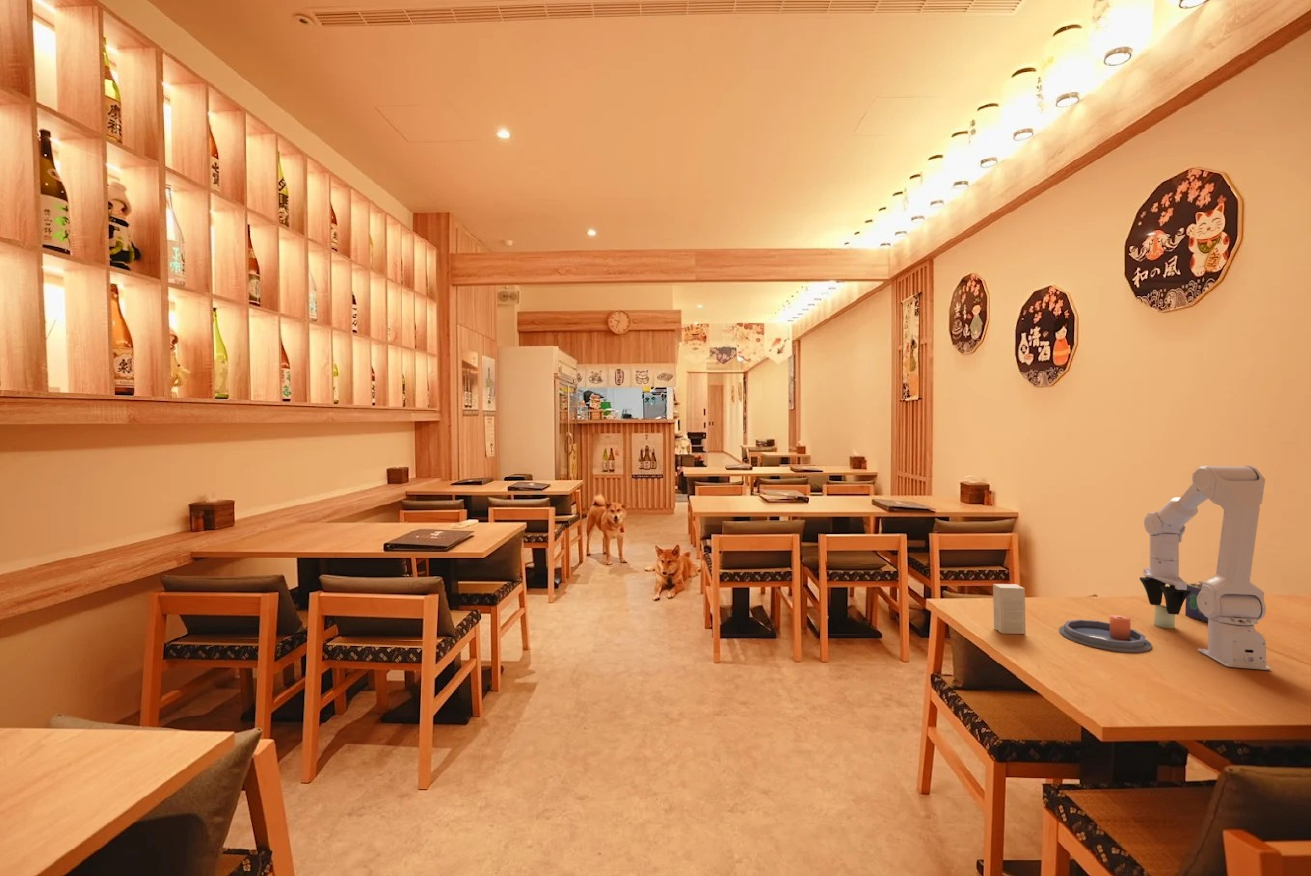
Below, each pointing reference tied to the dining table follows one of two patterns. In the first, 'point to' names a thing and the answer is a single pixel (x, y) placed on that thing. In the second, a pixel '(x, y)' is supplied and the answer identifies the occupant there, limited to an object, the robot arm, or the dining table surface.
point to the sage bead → (1163, 617)
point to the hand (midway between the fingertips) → (1164, 609)
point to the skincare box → (1009, 608)
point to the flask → (1194, 603)
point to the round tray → (1103, 636)
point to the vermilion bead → (1120, 627)
